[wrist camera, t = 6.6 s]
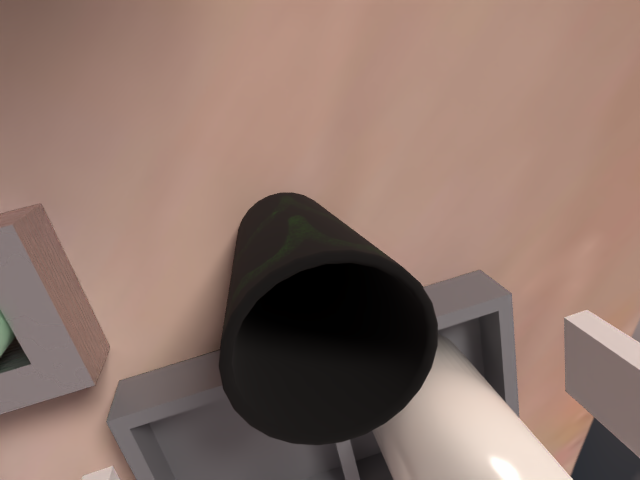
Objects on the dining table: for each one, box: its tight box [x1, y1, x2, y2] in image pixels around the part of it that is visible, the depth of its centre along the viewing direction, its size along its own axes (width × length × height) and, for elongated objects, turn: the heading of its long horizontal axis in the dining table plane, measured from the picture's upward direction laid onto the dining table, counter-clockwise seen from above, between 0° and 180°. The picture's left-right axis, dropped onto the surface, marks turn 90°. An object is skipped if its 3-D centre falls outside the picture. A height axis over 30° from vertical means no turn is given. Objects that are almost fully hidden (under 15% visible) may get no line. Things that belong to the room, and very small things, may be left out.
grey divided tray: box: [106, 270, 519, 480], centre depth 29 cm, size 12×24×4 cm, turn 103°
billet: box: [372, 334, 573, 480], centre depth 25 cm, size 8×8×12 cm
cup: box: [219, 193, 438, 445], centre depth 21 cm, size 8×8×12 cm
